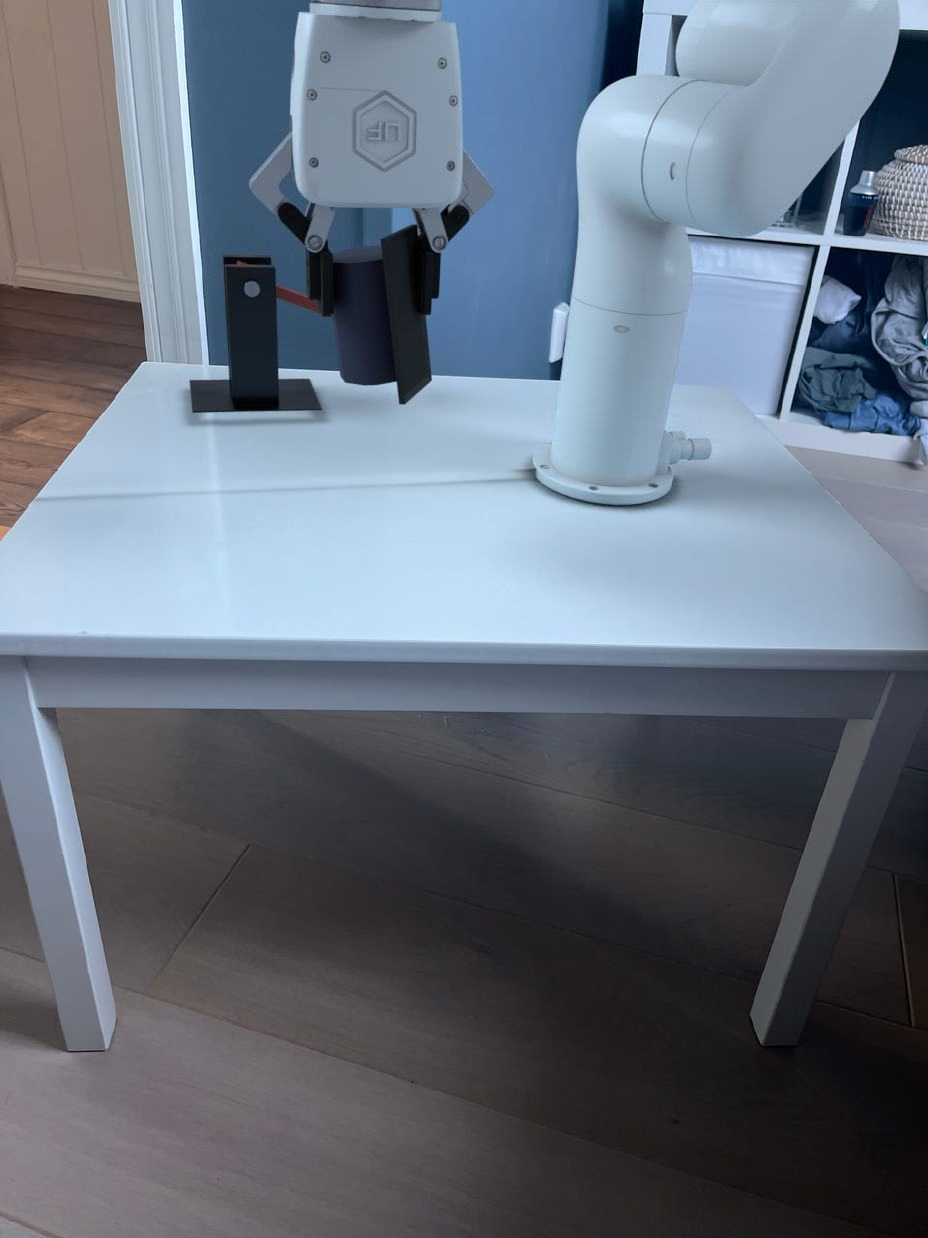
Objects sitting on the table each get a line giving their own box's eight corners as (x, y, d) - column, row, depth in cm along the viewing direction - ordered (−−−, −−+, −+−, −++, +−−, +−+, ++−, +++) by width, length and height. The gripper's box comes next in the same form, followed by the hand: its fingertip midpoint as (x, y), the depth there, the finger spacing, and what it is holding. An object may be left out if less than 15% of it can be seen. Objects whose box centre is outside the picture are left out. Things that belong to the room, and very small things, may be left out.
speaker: (458, 382, 68) (450, 223, 62) (403, 406, 64) (389, 239, 58) (378, 365, 72) (364, 215, 66) (322, 387, 68) (303, 230, 63)
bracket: (309, 389, 101) (308, 251, 94) (321, 420, 94) (320, 273, 87) (190, 391, 98) (179, 248, 91) (193, 423, 91) (181, 271, 84)
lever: (367, 331, 98) (375, 308, 97) (376, 346, 94) (385, 322, 93) (229, 281, 92) (236, 256, 91) (232, 294, 88) (240, 269, 87)
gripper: (225, -24, 50) (246, 329, 59) (541, -1, 54) (513, 324, 64) (215, -24, 56) (236, 297, 66) (501, -3, 60) (481, 294, 70)
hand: (373, 307), depth 65 cm, fingers closed on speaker, 5 cm apart
